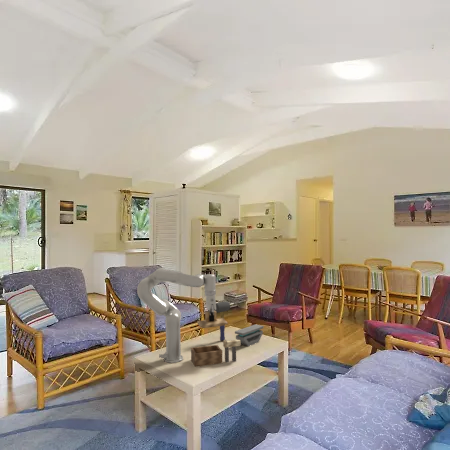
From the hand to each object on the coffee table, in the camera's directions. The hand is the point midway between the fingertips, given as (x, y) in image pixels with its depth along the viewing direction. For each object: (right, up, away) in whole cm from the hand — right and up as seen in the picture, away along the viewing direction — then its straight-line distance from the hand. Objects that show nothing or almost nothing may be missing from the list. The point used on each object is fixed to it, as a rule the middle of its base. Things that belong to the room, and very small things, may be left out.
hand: (211, 319), depth 228 cm
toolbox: (+2, -25, -5) cm, 26 cm away
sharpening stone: (+28, -26, +30) cm, 48 cm away
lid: (+1, -2, -2) cm, 3 cm away
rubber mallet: (+7, -26, +36) cm, 45 cm away
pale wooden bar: (+14, -16, -6) cm, 22 cm away
